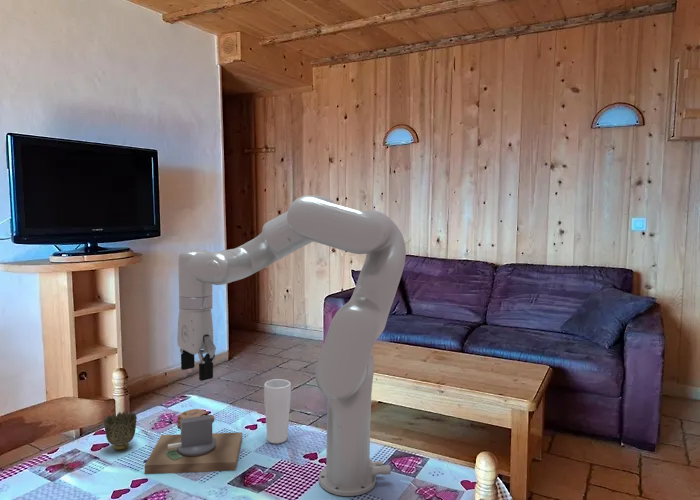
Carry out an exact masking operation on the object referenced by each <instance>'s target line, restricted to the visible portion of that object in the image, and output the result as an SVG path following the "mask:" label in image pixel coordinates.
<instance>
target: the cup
mask: <svg viewBox="0 0 700 500" xmlns="http://www.w3.org/2000/svg"><path fill="white" fill-rule="evenodd" d="M137 419H138V417H137V414H136V413H135V412H130V411H128V412H127V413H126V412H125V411H122V412H121V411H118V412H117V414H116V413H115V412H114V413H113V414H112V415H110V414H107V416H106V417H104V418H103V424H104V433H105V436H106V437H105V438H106V440H107V442H108V443H109V444H111V445H112V448H113V450H114V451H116V452H122V451H126V450H127V449H128V448H129V446H130V442H131V441H132V440H133V439H134V437H135V434H136V428H137Z"/></svg>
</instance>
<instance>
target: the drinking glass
mask: <svg viewBox="0 0 700 500" xmlns="http://www.w3.org/2000/svg"><path fill="white" fill-rule="evenodd" d="M291 385H292V384H291V381H289V380H287V379H282V378H274V379H270V380H267V381H266V382H264V385H263V386H264V389H263V391H264V392H263V401H264V402H263V403H264V413H265V426H266V427H265V428H266V439H267V441H268V442H269V443H271V444H282V443H284V442H286V441H287V440H288V435H289V434H288V432H289V431H288V430H289V419H290V409H291V399H292V398H291V397H292V395H291V394H292V388H291V387H292V386H291Z"/></svg>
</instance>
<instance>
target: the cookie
mask: <svg viewBox="0 0 700 500" xmlns="http://www.w3.org/2000/svg"><path fill="white" fill-rule="evenodd" d="M205 415H209V413H208V412H207V411H206V410H203V409H202V408H201V409H200V408H193V409H188V410H186V411H183V412H181V413H180V414H178V416H177V420H178V422H177V427H178V428H179V429H181V419H184V418H191V417H198V416H205ZM210 415H211V417H212V423H214V420H215V417H214V415H213V414H210Z"/></svg>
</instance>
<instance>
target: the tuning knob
mask: <svg viewBox="0 0 700 500" xmlns="http://www.w3.org/2000/svg"><path fill="white" fill-rule="evenodd" d="M211 415H212V414H208V415H205V416H198V417H191V418H184V419H181V428H180V434H181V440H180V441H179V442H178V443H174V444H168V448H174V447H177V452H178V453H179V454H181V455H184V456H200V455H204V454H207V453H209V452H211V451H212V450H214V449H215V447H216V439H215V438H214V437H212V433H213V422H212V417H211Z"/></svg>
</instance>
